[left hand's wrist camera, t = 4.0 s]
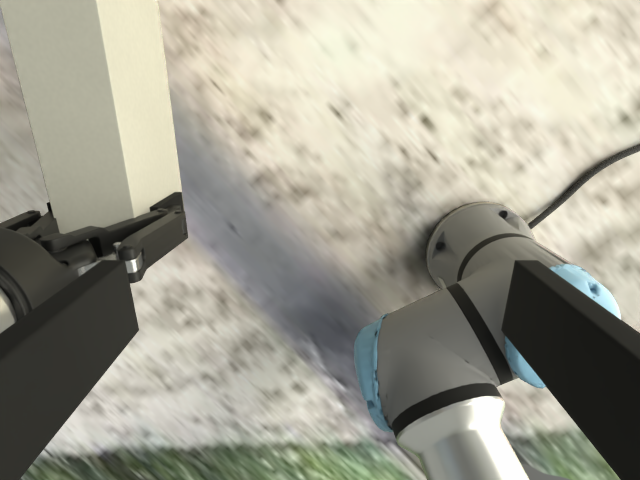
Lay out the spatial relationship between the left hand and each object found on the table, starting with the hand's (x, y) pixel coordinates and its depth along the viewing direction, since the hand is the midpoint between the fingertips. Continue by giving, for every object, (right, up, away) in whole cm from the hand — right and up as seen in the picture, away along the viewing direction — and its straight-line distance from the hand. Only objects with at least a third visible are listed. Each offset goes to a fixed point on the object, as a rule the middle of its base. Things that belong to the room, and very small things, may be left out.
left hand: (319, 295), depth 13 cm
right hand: (-19, +6, +28) cm, 35 cm away
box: (-19, +14, +27) cm, 36 cm away
